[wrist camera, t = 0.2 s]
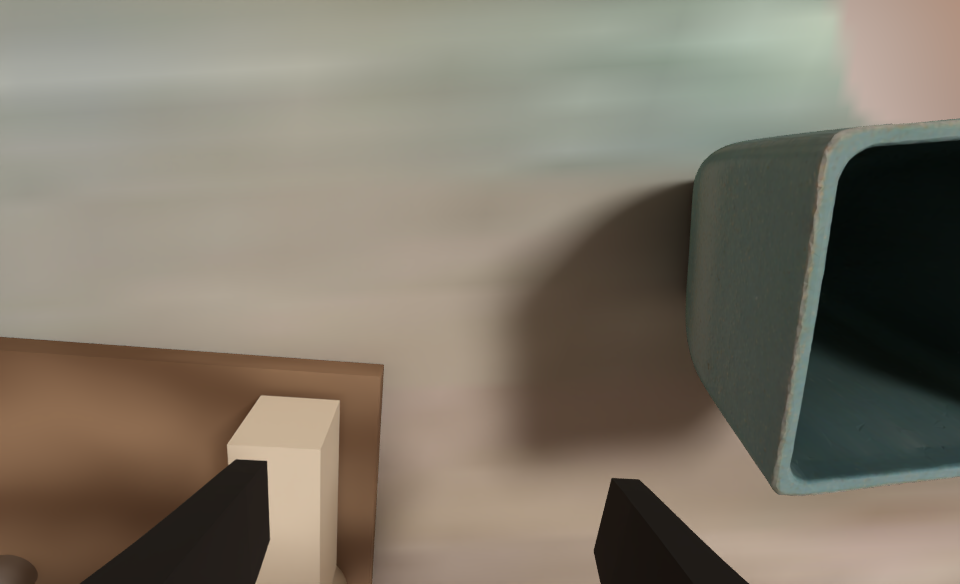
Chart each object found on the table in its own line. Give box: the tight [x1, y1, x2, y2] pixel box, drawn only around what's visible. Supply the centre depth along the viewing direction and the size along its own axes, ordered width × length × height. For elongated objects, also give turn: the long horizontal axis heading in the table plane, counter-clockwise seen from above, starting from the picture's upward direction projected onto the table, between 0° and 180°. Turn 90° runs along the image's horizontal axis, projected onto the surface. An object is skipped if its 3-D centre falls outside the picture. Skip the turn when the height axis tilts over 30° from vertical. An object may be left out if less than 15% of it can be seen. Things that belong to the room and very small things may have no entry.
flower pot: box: [686, 119, 960, 496], centre depth 15 cm, size 9×9×9 cm
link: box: [227, 395, 347, 584], centre depth 19 cm, size 12×4×4 cm, turn 173°
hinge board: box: [0, 337, 384, 584], centre depth 19 cm, size 16×18×6 cm
